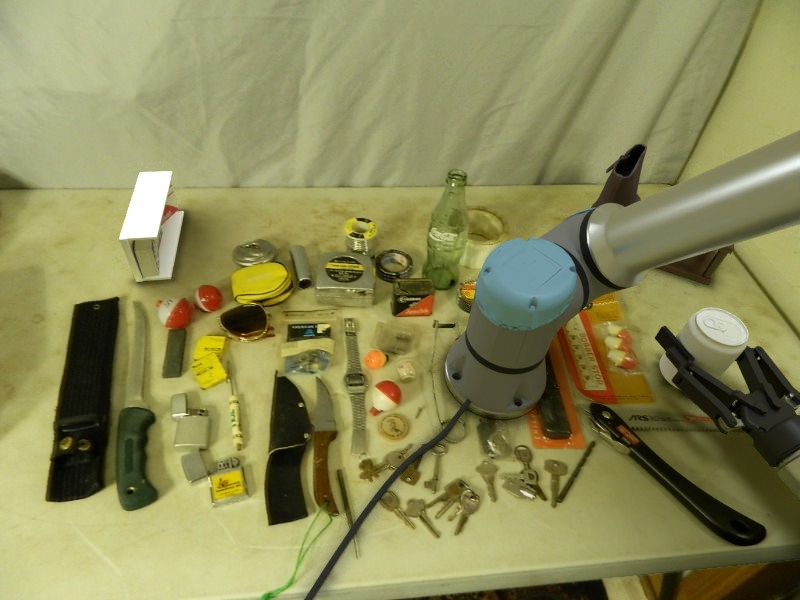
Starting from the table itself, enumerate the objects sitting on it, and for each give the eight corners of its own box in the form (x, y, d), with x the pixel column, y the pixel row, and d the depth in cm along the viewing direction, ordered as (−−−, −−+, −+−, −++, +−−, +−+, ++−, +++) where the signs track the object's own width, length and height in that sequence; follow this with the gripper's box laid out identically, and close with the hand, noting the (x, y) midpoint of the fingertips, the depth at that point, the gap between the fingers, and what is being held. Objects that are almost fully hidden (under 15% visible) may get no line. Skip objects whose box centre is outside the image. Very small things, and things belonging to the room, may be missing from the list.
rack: (708, 285, 99) (734, 249, 93) (638, 261, 103) (658, 225, 96) (712, 248, 107) (736, 212, 100) (647, 227, 110) (665, 192, 104)
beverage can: (707, 404, 80) (750, 357, 72) (653, 382, 83) (689, 332, 74) (712, 367, 86) (753, 318, 77) (661, 347, 88) (696, 297, 79)
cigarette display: (170, 279, 91) (156, 237, 84) (136, 281, 90) (118, 239, 83) (184, 208, 104) (173, 167, 97) (154, 210, 103) (141, 168, 96)
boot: (649, 215, 113) (693, 129, 99) (606, 274, 99) (650, 184, 85) (610, 199, 116) (647, 113, 102) (564, 253, 103) (599, 163, 88)
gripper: (722, 491, 68) (618, 355, 82) (839, 447, 74) (722, 327, 88) (755, 464, 62) (637, 324, 77) (878, 419, 68) (746, 296, 83)
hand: (682, 325), depth 82 cm, fingers closed on beverage can, 8 cm apart
